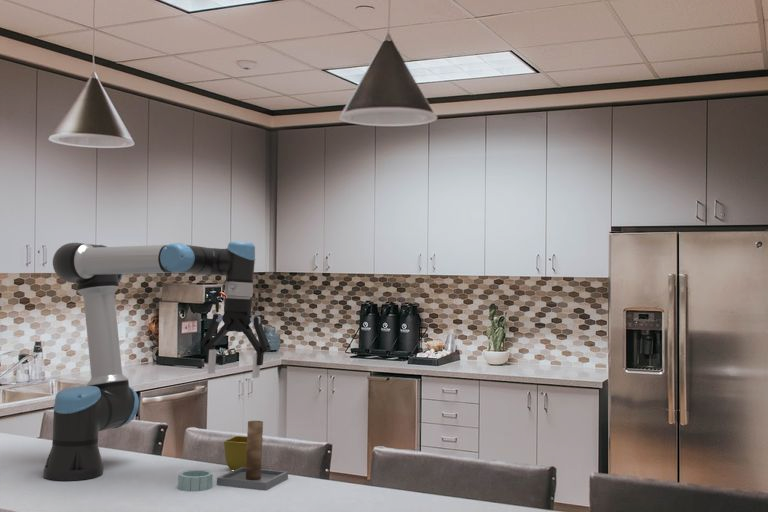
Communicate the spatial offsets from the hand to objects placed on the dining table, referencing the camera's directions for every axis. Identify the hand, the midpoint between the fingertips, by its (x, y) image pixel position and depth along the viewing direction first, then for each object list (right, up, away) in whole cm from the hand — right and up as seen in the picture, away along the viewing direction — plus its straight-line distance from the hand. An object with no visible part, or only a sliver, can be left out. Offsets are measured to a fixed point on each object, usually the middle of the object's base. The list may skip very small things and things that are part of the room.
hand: (233, 375), depth 211 cm
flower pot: (+1, -29, +10) cm, 31 cm away
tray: (+6, -28, -5) cm, 29 cm away
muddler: (+6, -27, -5) cm, 28 cm away
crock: (-7, -27, -13) cm, 31 cm away
